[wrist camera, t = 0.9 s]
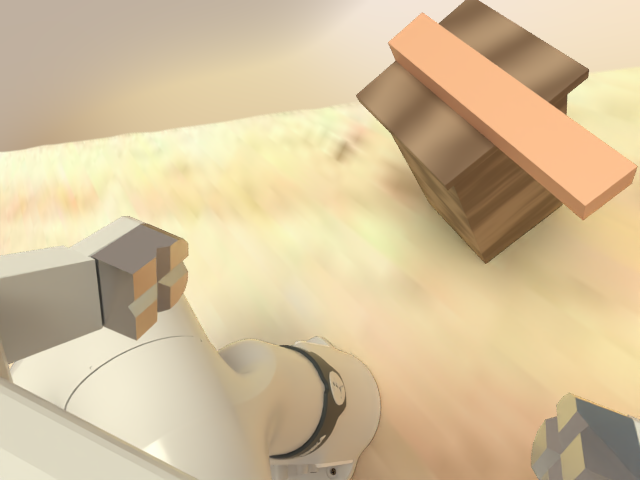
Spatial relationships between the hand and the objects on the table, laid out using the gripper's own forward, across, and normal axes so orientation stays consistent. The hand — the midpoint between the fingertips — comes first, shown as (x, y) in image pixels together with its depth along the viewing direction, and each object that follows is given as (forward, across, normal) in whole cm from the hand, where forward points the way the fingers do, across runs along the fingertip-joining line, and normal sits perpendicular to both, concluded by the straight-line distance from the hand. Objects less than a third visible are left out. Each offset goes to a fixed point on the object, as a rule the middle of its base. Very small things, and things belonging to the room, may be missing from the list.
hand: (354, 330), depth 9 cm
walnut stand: (+54, +8, -19) cm, 58 cm away
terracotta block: (+34, +2, -3) cm, 34 cm away
